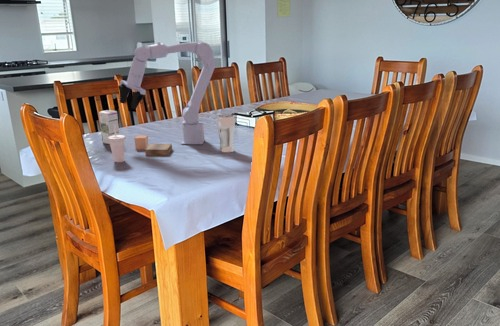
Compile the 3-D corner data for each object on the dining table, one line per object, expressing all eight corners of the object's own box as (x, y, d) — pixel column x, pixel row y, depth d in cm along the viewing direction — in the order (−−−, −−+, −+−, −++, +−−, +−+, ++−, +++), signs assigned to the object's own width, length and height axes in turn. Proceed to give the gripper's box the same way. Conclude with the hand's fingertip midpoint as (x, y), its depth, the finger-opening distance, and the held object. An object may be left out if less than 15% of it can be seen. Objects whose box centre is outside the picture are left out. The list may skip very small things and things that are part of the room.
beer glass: (220, 154, 176) (219, 117, 171) (217, 149, 182) (215, 114, 178) (236, 152, 178) (236, 116, 173) (233, 148, 184) (232, 113, 179)
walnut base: (172, 149, 183) (171, 143, 182) (167, 155, 174) (167, 149, 173) (151, 149, 183) (150, 143, 182) (145, 155, 174) (145, 149, 174)
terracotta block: (148, 146, 188) (147, 135, 186) (146, 149, 183) (145, 138, 182) (138, 146, 188) (137, 135, 186) (135, 149, 183) (134, 138, 182)
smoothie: (121, 157, 172) (117, 123, 168) (130, 160, 168) (127, 125, 164) (107, 161, 167) (103, 126, 163) (116, 164, 163) (113, 128, 159)
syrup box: (120, 142, 194) (117, 110, 190) (110, 145, 190) (106, 112, 185) (112, 140, 197) (109, 109, 193) (101, 143, 193) (98, 111, 188)
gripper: (117, 68, 180) (109, 99, 183) (139, 78, 173) (131, 110, 176) (130, 71, 186) (122, 101, 189) (152, 81, 178) (144, 112, 181)
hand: (127, 105), depth 183 cm, fingers open, 7 cm apart
